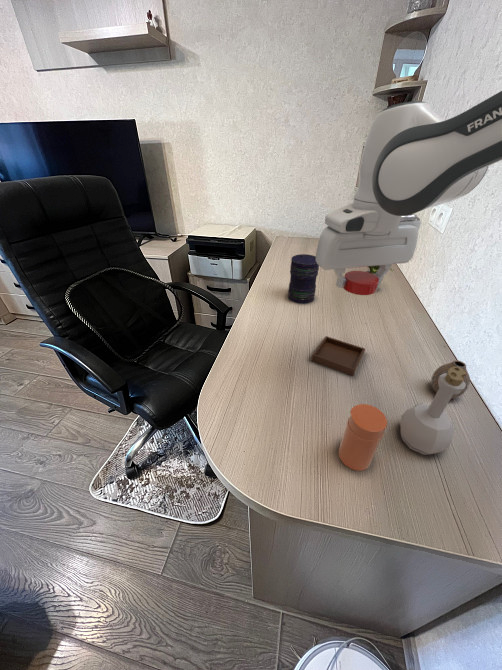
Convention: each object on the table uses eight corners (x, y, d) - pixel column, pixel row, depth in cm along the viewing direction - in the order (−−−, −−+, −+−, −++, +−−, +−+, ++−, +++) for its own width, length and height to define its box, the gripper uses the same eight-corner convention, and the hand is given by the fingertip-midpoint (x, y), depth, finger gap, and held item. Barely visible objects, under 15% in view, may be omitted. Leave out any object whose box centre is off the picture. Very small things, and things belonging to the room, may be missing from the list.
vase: (422, 380, 68) (436, 352, 63) (452, 382, 67) (468, 355, 62) (433, 401, 63) (449, 373, 58) (466, 404, 62) (485, 376, 57)
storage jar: (319, 301, 102) (325, 262, 93) (295, 306, 99) (299, 265, 90) (306, 290, 109) (310, 252, 101) (283, 294, 107) (286, 256, 98)
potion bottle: (449, 437, 55) (495, 370, 45) (436, 469, 50) (485, 401, 39) (403, 413, 60) (435, 347, 50) (387, 439, 55) (419, 372, 44)
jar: (374, 451, 53) (391, 413, 46) (365, 477, 49) (383, 438, 42) (344, 437, 55) (356, 398, 49) (333, 459, 51) (345, 421, 45)
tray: (363, 354, 76) (365, 348, 75) (353, 376, 69) (355, 370, 68) (324, 341, 81) (325, 335, 80) (311, 360, 74) (312, 354, 73)
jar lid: (336, 288, 59) (338, 277, 58) (350, 278, 64) (352, 268, 62) (368, 298, 56) (371, 287, 54) (380, 287, 60) (384, 276, 58)
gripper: (412, 210, 56) (391, 274, 64) (317, 215, 52) (308, 282, 60) (435, 217, 51) (410, 286, 59) (332, 223, 47) (320, 295, 55)
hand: (358, 284), depth 60 cm, fingers closed on jar lid, 7 cm apart
